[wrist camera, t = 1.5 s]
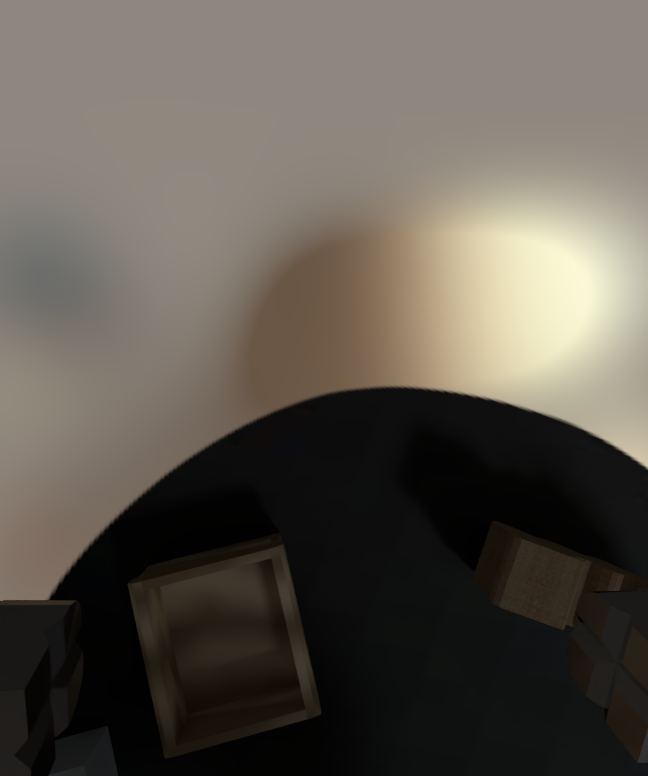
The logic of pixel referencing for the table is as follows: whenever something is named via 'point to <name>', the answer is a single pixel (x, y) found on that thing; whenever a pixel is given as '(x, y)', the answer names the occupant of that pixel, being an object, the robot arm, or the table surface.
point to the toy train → (544, 576)
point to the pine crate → (223, 645)
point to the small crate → (85, 755)
